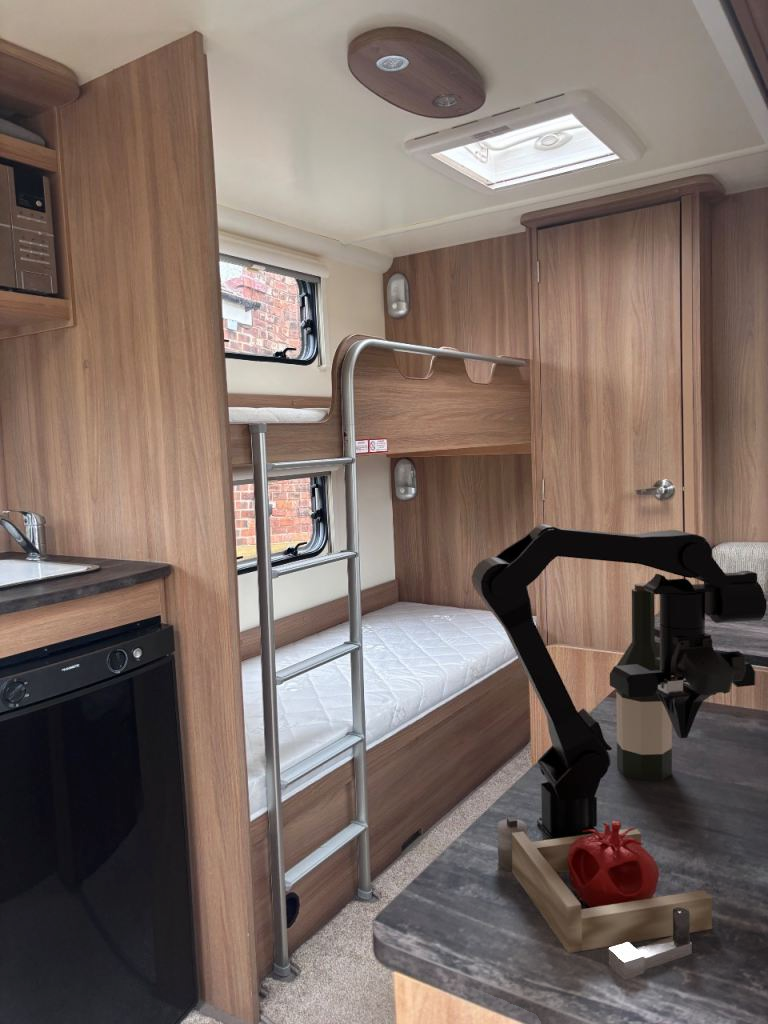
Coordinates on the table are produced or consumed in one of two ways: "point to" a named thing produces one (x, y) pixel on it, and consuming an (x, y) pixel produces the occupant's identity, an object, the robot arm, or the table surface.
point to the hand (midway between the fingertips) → (682, 737)
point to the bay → (563, 910)
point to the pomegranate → (611, 868)
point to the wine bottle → (643, 703)
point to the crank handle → (653, 949)
